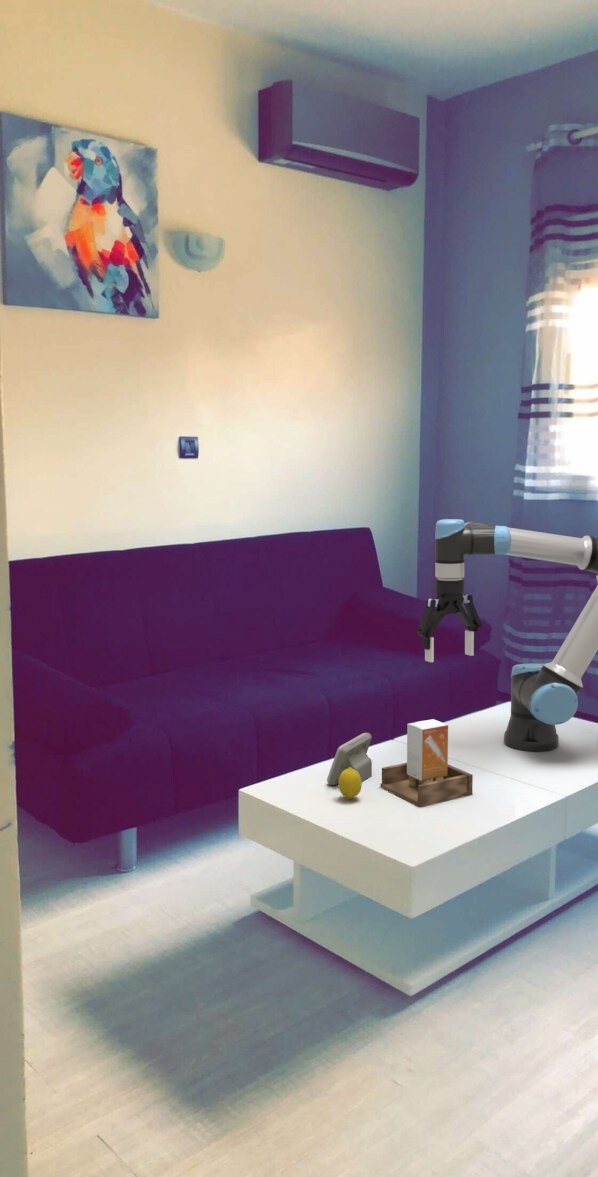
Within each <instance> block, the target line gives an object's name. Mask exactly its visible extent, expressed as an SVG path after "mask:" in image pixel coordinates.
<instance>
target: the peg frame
mask: <svg viewBox="0 0 598 1177" xmlns="http://www.w3.org/2000/svg"><path fill="white" fill-rule="evenodd" d="M473 777H474V775H473V774H471V773H469V772H467V771H465V770H463V769H460V768H457V767H455V766H453V765H451V764H448V767H447V776H442V777H437V778H432V779H428V780H424V781H421V780H419V779H416V778H414V777H412V776H410V775H408V774H407V762H403V763H399V764H394V765H389V766H384V767H381V783H380V784H379V785H380V788H381V789H382V790H385V791H386V792H388V793H391V794H392V795H395V796H396V797H398V798H400V799H402V800H405V801H407V802H408V803H411V805H414V806H416V807H418V808H423V807H427V806H432V805H434V804H435V805H436V804H439V803H443V802H444V803H445V802H447V801H451V800H456V799H461V798H464V797H469V796H472V795H473V783H474V782H473V779H474V778H473Z"/></svg>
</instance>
